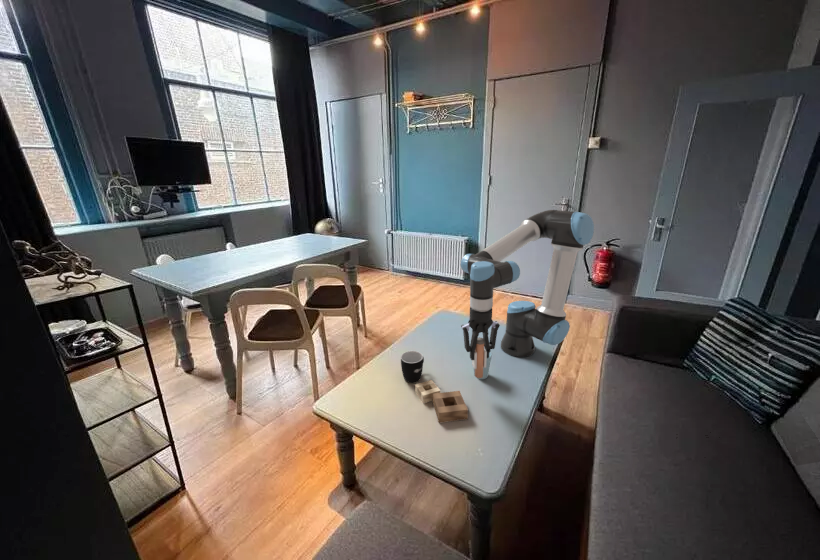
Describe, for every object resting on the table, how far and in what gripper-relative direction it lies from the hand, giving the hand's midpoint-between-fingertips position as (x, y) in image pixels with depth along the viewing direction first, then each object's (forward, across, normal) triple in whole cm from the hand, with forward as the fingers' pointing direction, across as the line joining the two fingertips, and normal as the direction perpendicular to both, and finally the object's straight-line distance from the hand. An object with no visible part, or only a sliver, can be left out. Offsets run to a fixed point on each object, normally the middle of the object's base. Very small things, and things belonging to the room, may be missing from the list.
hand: (479, 366), depth 118 cm
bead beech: (+12, +19, -3) cm, 23 cm away
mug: (+13, +22, -16) cm, 30 cm away
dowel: (+4, 0, 0) cm, 4 cm away
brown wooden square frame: (+12, +13, +6) cm, 19 cm away
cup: (+13, -5, -12) cm, 18 cm away
